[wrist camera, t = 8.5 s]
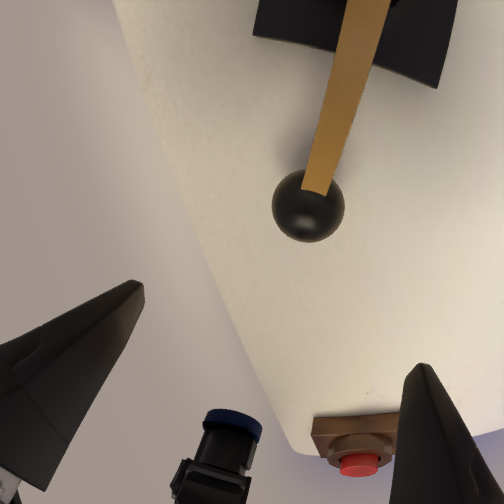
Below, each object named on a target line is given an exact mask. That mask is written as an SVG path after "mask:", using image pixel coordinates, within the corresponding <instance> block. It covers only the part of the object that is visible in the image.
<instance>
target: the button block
mask: <svg viewBox="0 0 504 504" xmlns="http://www.w3.org/2000/svg"><path fill="white" fill-rule="evenodd" d="M399 413H400V412H398V413H388V414H378V415H366V416H352V417H331V418H314V419H313V425H312V431H311V436H312V439H313V441H314V443H315V445H316V448H317V450H318V452H319V454H320V457H321V458H327V460H328V462H329V464H330V465H332V466H335V467H337V468H340V465H341V458H342V456H345V455H349V454H358V453H367V454H375V455H377V456H378V467H382V466H384V465H386V464H387V463H389V462H391V460H392V455H393V454H396V443H397V429H398V420H399Z"/></svg>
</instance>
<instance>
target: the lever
mask: <svg viewBox="0 0 504 504" xmlns="http://www.w3.org/2000/svg"><path fill="white" fill-rule="evenodd" d="M390 2H391V0H348V1H347V5H346V10H345V14H344V19H343V23H342V27H341V32H340V36H339V40H338V44H337V49H336V53H335V57H334V61H333V65H332V70H331V74H330V78H329V82H328V86H327V90H326V94H325V98H324V102H323V106H322V110H321V114H320V118H319V122H318V126H317V129H316V133H315V137H314V141H313V145H312V149H311V152H310V156H309V160H308V164H307V167H306V170H299V171H296V172H293V173H291V174H289V175H288V176H286V177H285V178H284V179H283V180H282V181H281V182H280V183H279V184H278V186H277V187H276V189H275V192H274V194H273V198H272V213H273V217H274V220H275V222H276V224H277V225H278V227H279V228H280V230H281V231H282V232H283V233H284V234H286V235H287V236H288V237H290V238H292V239H294V240H296V241H300V242H306V243H312V242H317V241H321V240H323V239H325V238H327V237H329V236H330V235H331V234H333V233H334V232H335V231H336V229H337V228H338V227H339V225H340V224H341V221H342V219H343V216H344V210H345V203H344V197H343V194H342V191H341V189H340V188H339V186H338V185H337V183H336V182H335V181H334V180H333V179H332V178H333V176H334V173H335V170H336V167H337V165H338V162H339V159H340V156H341V154H342V151H343V148H344V145H345V142H346V140H347V137H348V134H349V131H350V128H351V125H352V122H353V119H354V117H355V114H356V111H357V108H358V105H359V102H360V99H361V96H362V93H363V90H364V87H365V84H366V81H367V77H368V74H369V71H370V68H371V65H372V62H373V59H374V55H375V52H376V49H377V46H378V42H379V39H380V36H381V33H382V29H383V26H384V22H385V19H386V16H387V12H388V9H389V5H390Z"/></svg>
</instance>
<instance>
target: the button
mask: <svg viewBox="0 0 504 504" xmlns="http://www.w3.org/2000/svg"><path fill="white" fill-rule="evenodd" d="M377 471H378V456H377V455H375V454H367V453H358V454H349V455H345V456H342V458H341V465H340V473H341V474H342V475H345V476H350V477H364V476H370V475H373V474H375V473H376V472H377Z"/></svg>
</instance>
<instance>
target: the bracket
mask: <svg viewBox="0 0 504 504" xmlns="http://www.w3.org/2000/svg"><path fill="white" fill-rule="evenodd" d="M347 1H348V0H259V5H258V9H257V14H256V19H255V24H254V29H253V36H256V37H260V38H266V39H271V40H277V41H282V42H287V43H292V44H297V45H301V46H306V47H310V48H314V49H318V50H322V51H326V52H330V53H334V54H335V53H336V49H337V44H338V40H339V36H340V32H341V27H342V23H343V19H344V14H345V10H346V5H347ZM457 3H458V0H391V2H390V5H389V9H388V12H387V16H386V19H385V22H384V26H383V29H382V33H381V36H380V39H379V42H378V46H377V49H376V52H375V55H374V59H373V62H372V65H373V66H376V67H379V68H382V69H385V70H388V71H390V72H393V73H396V74H399V75H401V76H404V77H406V78H409V79H411V80H414V81H416V82H419V83H421V84H424V85H426V86H428V87H431V88H434V89H437V87H438V84H439V80H440V77H441V73H442V69H443V66H444V62H445V58H446V54H447V50H448V46H449V41H450V37H451V33H452V28H453V23H454V18H455V13H456V8H457Z"/></svg>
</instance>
